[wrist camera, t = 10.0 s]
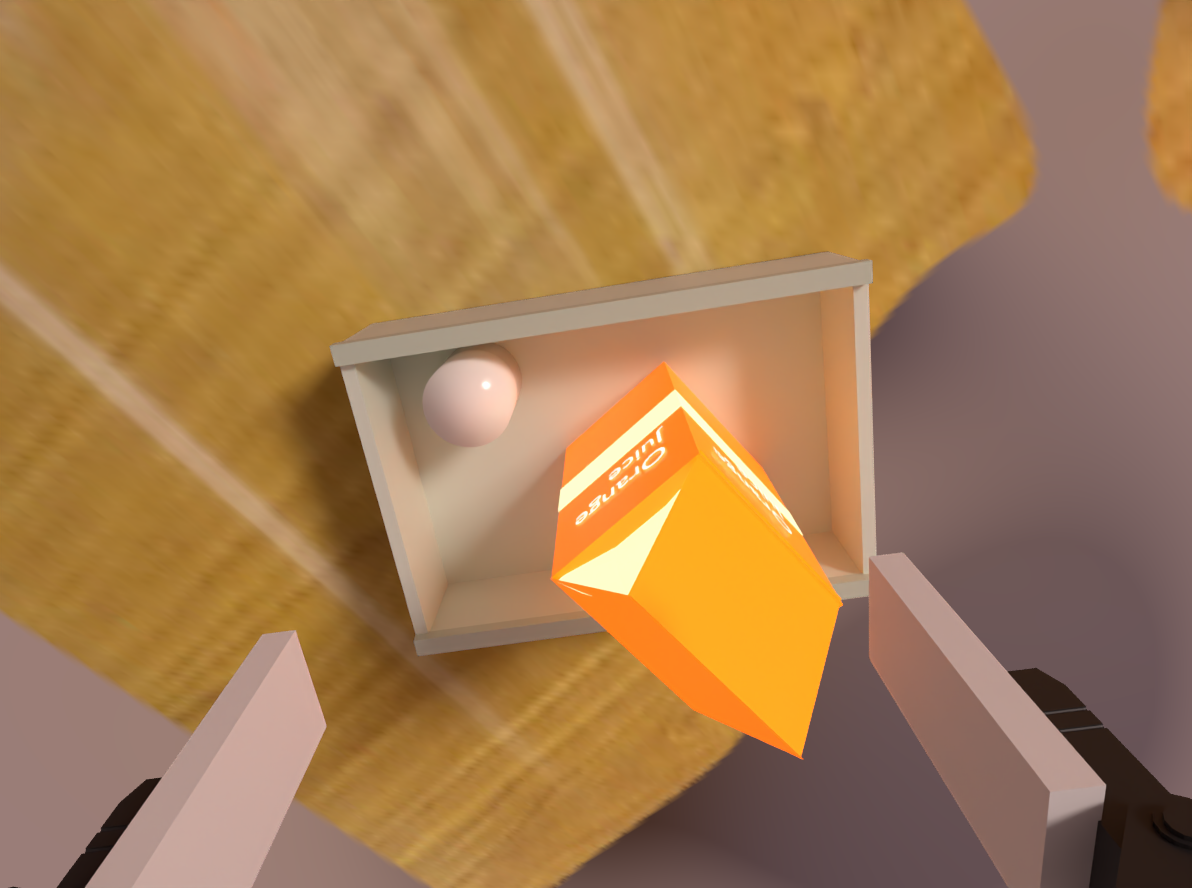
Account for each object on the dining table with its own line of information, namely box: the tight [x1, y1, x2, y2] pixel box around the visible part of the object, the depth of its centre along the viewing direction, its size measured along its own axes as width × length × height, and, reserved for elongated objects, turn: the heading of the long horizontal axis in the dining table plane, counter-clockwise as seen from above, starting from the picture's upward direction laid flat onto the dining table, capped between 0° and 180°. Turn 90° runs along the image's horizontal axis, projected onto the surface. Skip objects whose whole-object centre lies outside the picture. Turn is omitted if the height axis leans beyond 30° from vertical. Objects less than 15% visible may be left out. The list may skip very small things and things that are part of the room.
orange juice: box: [550, 362, 843, 759], centre depth 32 cm, size 8×9×20 cm
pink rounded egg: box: [422, 342, 522, 447], centre depth 38 cm, size 4×4×5 cm
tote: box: [330, 252, 876, 656], centre depth 39 cm, size 25×17×7 cm
